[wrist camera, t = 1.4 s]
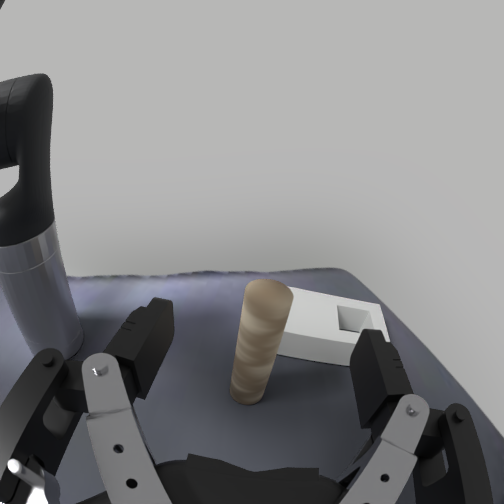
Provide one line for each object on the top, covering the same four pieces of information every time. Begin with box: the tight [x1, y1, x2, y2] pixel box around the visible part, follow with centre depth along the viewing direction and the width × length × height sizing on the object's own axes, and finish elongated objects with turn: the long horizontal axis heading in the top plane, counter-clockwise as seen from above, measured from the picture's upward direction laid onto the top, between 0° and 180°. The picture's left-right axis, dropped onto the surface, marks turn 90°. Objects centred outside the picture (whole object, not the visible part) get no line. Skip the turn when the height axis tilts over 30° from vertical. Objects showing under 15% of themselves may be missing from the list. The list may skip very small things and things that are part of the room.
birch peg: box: [230, 279, 294, 405], centre depth 26 cm, size 4×4×15 cm
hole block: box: [277, 286, 390, 366], centre depth 38 cm, size 18×10×4 cm, turn 79°
